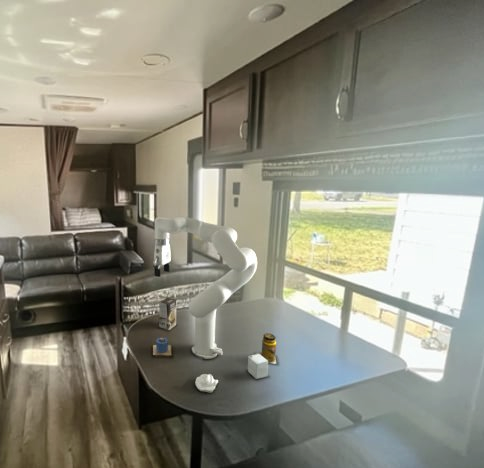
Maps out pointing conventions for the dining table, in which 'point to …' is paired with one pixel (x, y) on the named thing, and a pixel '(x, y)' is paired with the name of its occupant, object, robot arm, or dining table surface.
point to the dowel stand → (161, 353)
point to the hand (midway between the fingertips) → (162, 273)
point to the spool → (162, 345)
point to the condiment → (269, 348)
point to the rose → (206, 383)
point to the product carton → (257, 366)
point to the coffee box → (167, 313)
